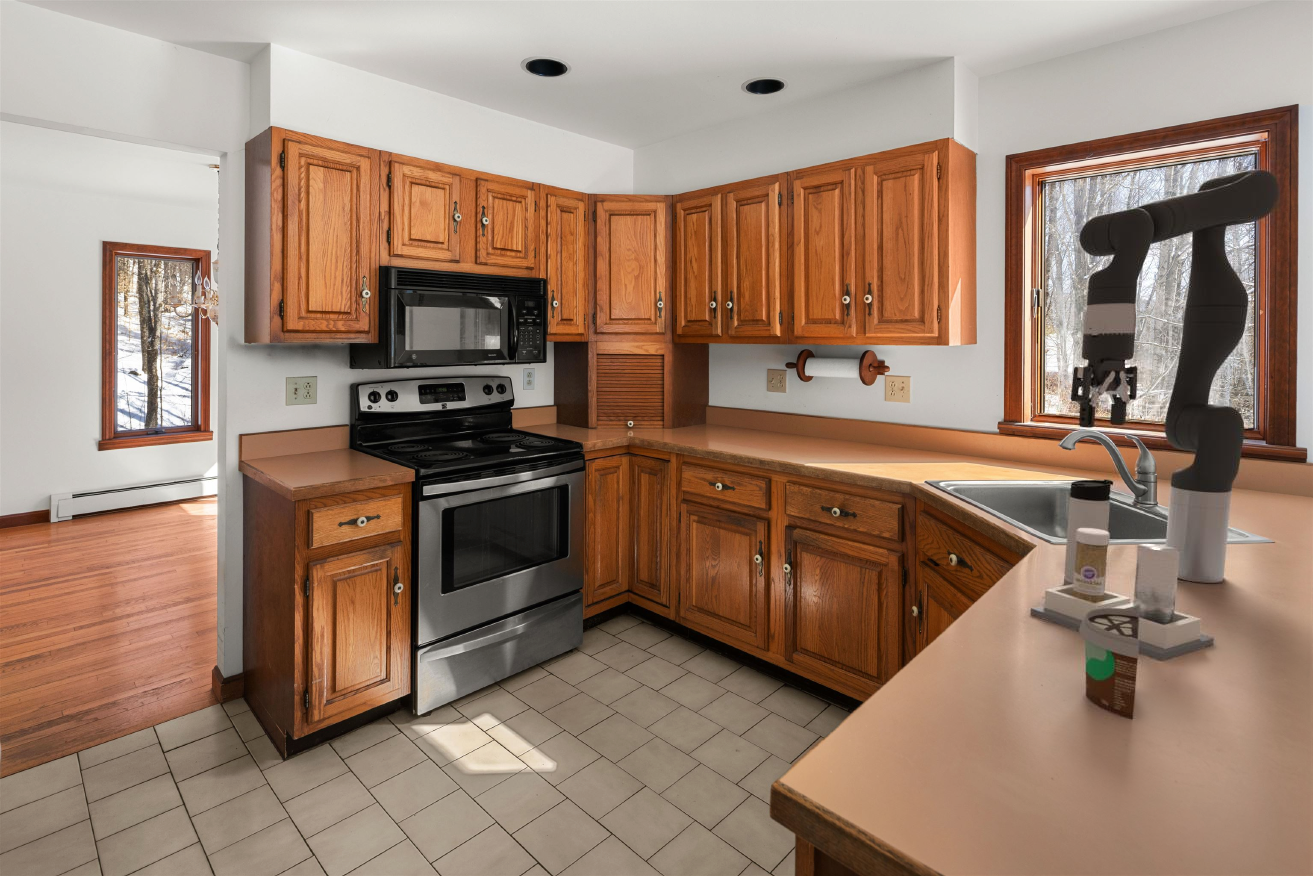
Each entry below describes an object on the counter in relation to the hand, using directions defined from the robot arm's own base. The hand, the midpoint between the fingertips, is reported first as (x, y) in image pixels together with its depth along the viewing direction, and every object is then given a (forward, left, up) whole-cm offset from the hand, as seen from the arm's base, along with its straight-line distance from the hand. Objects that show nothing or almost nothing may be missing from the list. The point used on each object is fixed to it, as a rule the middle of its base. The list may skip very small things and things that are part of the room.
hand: (1102, 426), depth 122 cm
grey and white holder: (+12, +12, -30) cm, 35 cm away
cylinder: (+12, +17, -30) cm, 37 cm away
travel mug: (-3, -3, -30) cm, 31 cm away
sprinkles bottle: (+12, +7, -29) cm, 32 cm away
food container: (+36, +25, -30) cm, 53 cm away
